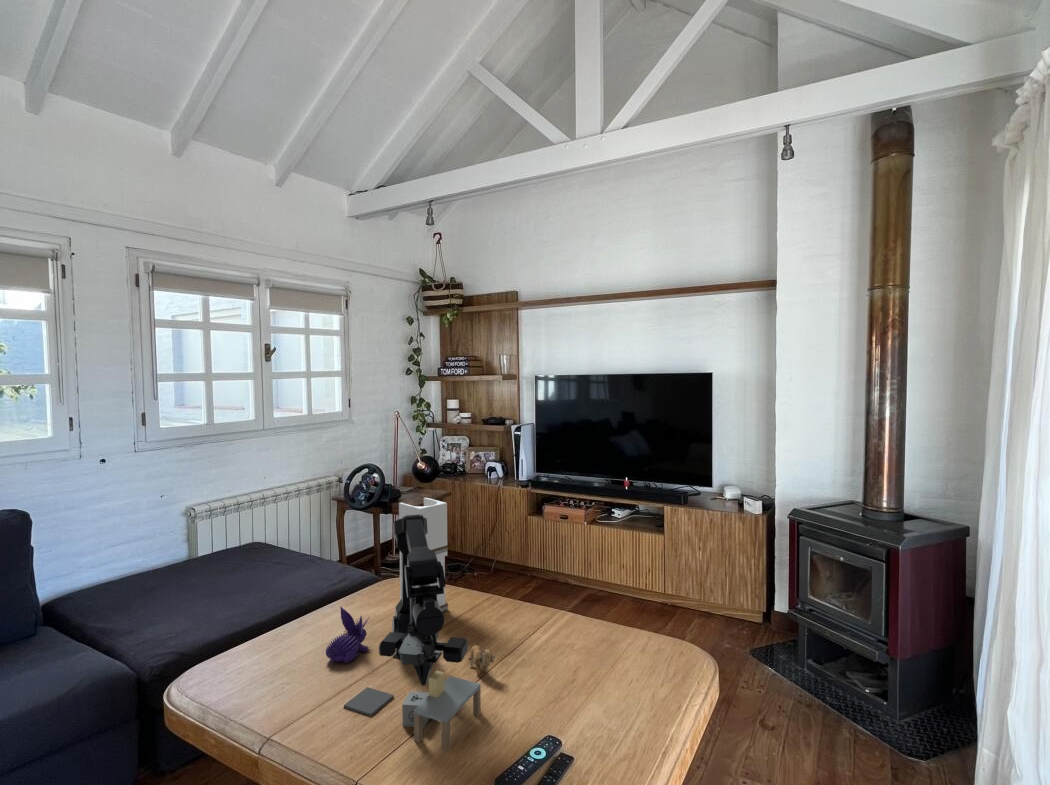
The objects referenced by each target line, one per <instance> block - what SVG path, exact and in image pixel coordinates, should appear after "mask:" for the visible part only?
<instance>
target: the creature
mask: <svg viewBox="0 0 1050 785" xmlns="http://www.w3.org/2000/svg"><path fill="white" fill-rule="evenodd" d="M339 607H340V618H341V624H342V625H343V627H344V631H343V633H341V634H340V635H338V636H336V637H334V639H333V638H331V639H332V641H331V640H330V642H329V643H328V644H327V646H326V648H325V655H326V658H328V659H330V660H329V661H328V662H327V664H326V665H329V664H330V663H332V662H336V663H341V662H344V663H346V664H347V663H350V662H352V661H353V660H355V659H356V658H357V657H358V656H359V654H361V653H366V652H367V651H369V648H370V646H369V645H365V644H362V643H363V642H364V640H365V639H366V636H367V634H368V633H367V631H366V629H365V628H364V627H365V625H366V624H367V622H368V620H369V619H370V617H367V619H366V620H365V622H363V617H362V615H360V617H359V619H357V620H356V621H355V620H354V617H353V616H352V615H351V614H350V613H349V612H348V611H347V610H346V609H345V608H344V607H343V606H341V605H340V606H339Z"/></svg>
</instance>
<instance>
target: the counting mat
mask: <svg viewBox="0 0 1050 785" xmlns="http://www.w3.org/2000/svg"><path fill="white" fill-rule="evenodd" d="M393 698H395V695H394V694H392V693H389V692H386V691H382V690H379V689H375V688H371V687H368V686H367V687H365V688H364V689H362V691H360V692H359V693H357V694H356V695H355V696H354V697H352V698H351V699H350V700H348V701H347V702H346V703H345V704H343V708H344V709H346V710H350V711H353V712H356V713H359V714H362V715H366V716H368V717H373V716H374V715H375V714H376V713H377V712H379V710H381V709H382V708H383V707H384V706H386V705H387V704H388V703H389V702H390V701H392V699H393Z"/></svg>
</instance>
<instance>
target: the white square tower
mask: <svg viewBox="0 0 1050 785" xmlns="http://www.w3.org/2000/svg"><path fill="white" fill-rule="evenodd" d="M417 514H420V515H423V517H424V518H427V529H428V533H427V534H426V535H425V536H426V541H427V545H428V548H429V549H430V550H432V551H434V552H435V554H436V557H437V560H438V561H440V562H441V565H442V566H443V570H444V577H445V578H446V565H445V564H446V558H445V557H448V503H447V502H444V501H440V500H437V499H434V498H428V497H423V506H419V505H418V506H417V505H411V504H407V503H405V502H399V503H398V519H402V517H405V516H406V515H417ZM437 580H438V578H437ZM429 585H431V586H435V585H438V586H439V582H437V583H435V584H429ZM443 588H444V594H438V595H437V601H438V603H439V606H440V608H441V610H442V612H446V611H448V610H449V602H448V601H447V602H446V586H445V587H443ZM399 598H400V599H399V601H400V600H401V551H400V550H399Z"/></svg>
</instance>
